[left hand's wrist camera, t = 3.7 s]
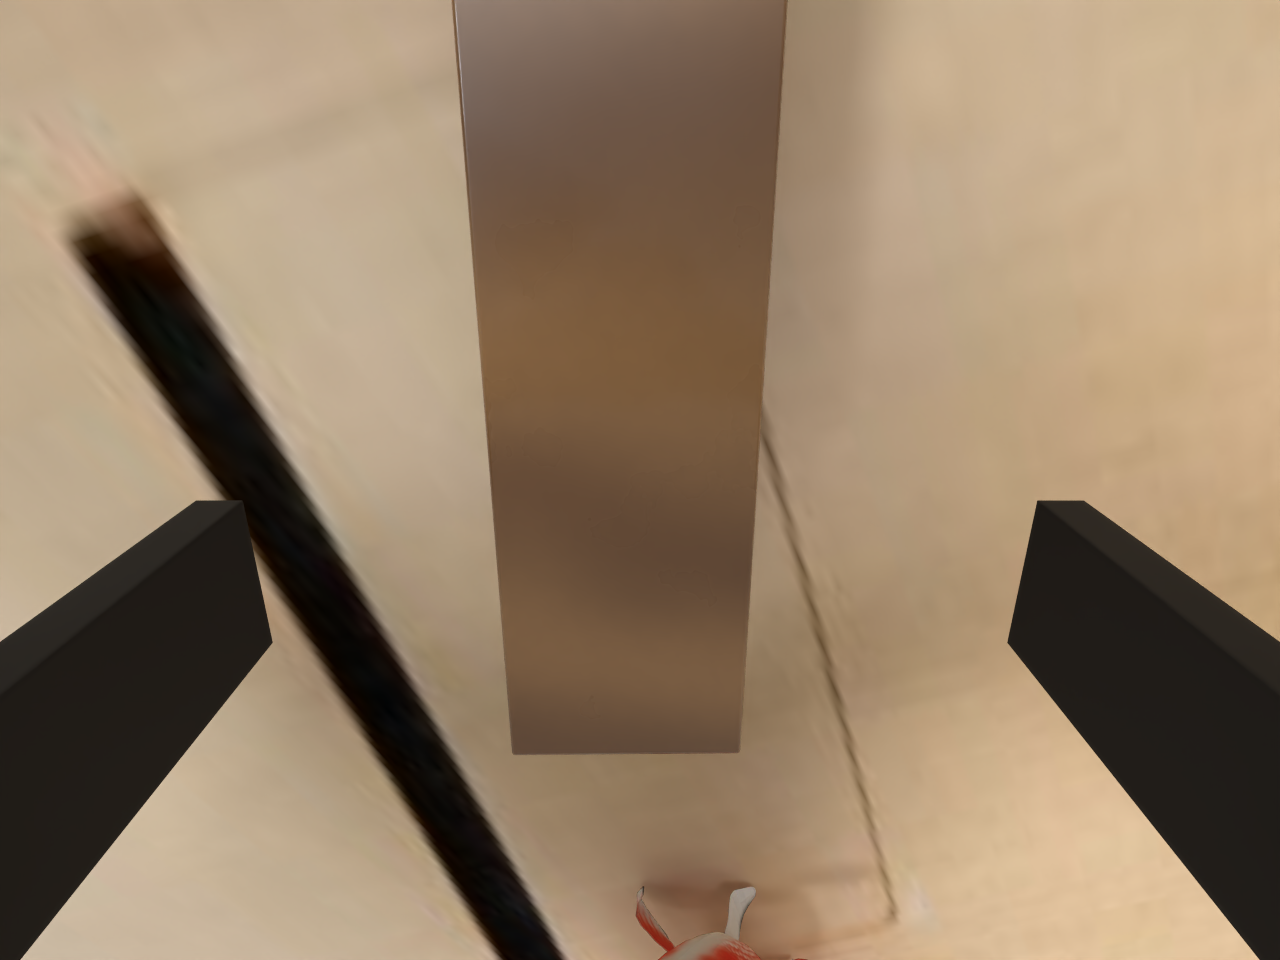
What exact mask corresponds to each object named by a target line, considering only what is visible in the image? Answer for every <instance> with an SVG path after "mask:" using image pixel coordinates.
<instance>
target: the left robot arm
mask: <svg viewBox="0 0 1280 960" xmlns="http://www.w3.org/2000/svg"><path fill="white" fill-rule="evenodd" d="M272 643H273V642H272V637H271V633H270V628H269V623H268V618H267V614H266V609H265V604H264V600H263V595H262V590H261V585H260V581H259V576H258V571H257V566H256V562H255V557H254V552H253V548H252V543H251V538H250V533H249V529H248V524H247V519H246V515H245V510H244V505H243V501H195V502H194V503H192V504H191V505H189V506H188V507H187V508H185V509H184V510H183V511H181V512H180V513H178V514H177V515H176V516H174V517H173V518H171V519H170V520H169V521H167V522H166V523H164V524H163V525H162V526H160V527H159V528H158V529H156V530H155V531H153V532H152V533H151V534H149V535H148V536H146V537H145V538H144V539H142V540H141V541H140V542H138V543H137V544H135V545H134V546H133V547H131V548H130V549H128V550H127V551H126V552H124V553H123V554H122V555H120V556H119V557H117V558H116V559H115V560H113V561H112V562H110V563H109V564H108V565H106V566H105V567H103V568H102V569H101V570H99V571H98V572H97V573H95V574H94V575H92V576H91V577H90V578H88V579H87V580H85V581H84V582H83V583H81V584H80V585H79V586H77V587H76V588H74V589H73V590H72V591H70V592H69V593H67V594H66V595H65V596H63V597H62V598H60V599H59V600H58V601H56V602H55V603H54V604H52V605H51V606H49V607H48V608H47V609H45V610H44V611H42V612H41V613H40V614H38V615H37V616H36V617H34V618H33V619H31V620H30V621H29V622H27V623H26V624H24V625H23V626H22V627H20V628H19V629H18V630H16V631H15V632H13V633H12V634H11V635H9V636H8V637H6V638H5V639H4V640H2V641H1V642H0V960H21V958H22V957H23V956H24V954H25V953H26V952H27V951H28V949H29V948H30V947H31V946H32V944H33V943H34V942H35V941H36V939H37V938H38V937H39V936H40V934H41V933H42V932H43V931H44V929H45V928H46V927H47V926H48V924H49V923H50V922H51V921H52V919H53V918H54V917H55V916H56V914H57V913H58V912H59V910H60V909H61V908H62V907H63V905H64V904H65V903H66V902H67V900H68V899H69V898H70V897H71V895H72V894H73V893H74V892H75V890H76V889H77V888H78V887H79V885H80V884H81V883H82V882H83V880H84V879H85V878H86V877H87V875H88V874H89V873H90V872H91V870H92V869H93V868H94V866H95V865H96V864H97V863H98V861H99V860H100V859H101V858H102V856H103V855H104V854H105V853H106V851H107V850H108V849H109V848H110V846H111V845H112V844H113V843H114V841H115V840H116V839H117V838H118V836H119V835H120V834H121V833H122V831H123V830H124V829H125V827H126V826H127V825H128V824H129V822H130V821H131V820H132V819H133V817H134V816H135V815H136V814H137V812H138V811H139V810H140V809H141V807H142V806H143V805H144V804H145V802H146V801H147V800H148V799H149V797H150V796H151V795H152V794H153V792H154V791H155V790H156V789H157V787H158V786H159V785H160V783H161V782H162V781H163V780H164V778H165V777H166V776H167V775H168V773H169V772H170V771H171V770H172V768H173V767H174V766H175V765H176V763H177V762H178V761H179V760H180V758H181V757H182V756H183V755H184V753H185V752H186V751H187V750H188V748H189V747H190V746H191V745H192V743H193V742H194V741H195V739H196V738H197V737H198V736H199V734H200V733H201V732H202V731H203V729H204V728H205V727H206V726H207V724H208V723H209V722H210V721H211V719H212V718H213V717H214V716H215V714H216V713H217V712H218V711H219V709H220V708H221V707H222V706H223V704H224V703H225V702H226V701H227V699H228V698H229V697H230V695H231V694H232V693H233V692H234V690H235V689H236V688H237V687H238V685H239V684H240V683H241V682H242V680H243V679H244V678H245V677H246V675H247V674H248V673H249V672H250V670H251V669H252V668H253V667H254V665H255V664H256V663H257V662H258V660H259V659H260V658H261V657H262V655H263V654H264V653H265V651H266V650H267V649H268V648H269V646H270V645H271V644H272ZM1007 643H1008V644H1009V645H1010V646H1011V648H1012V649H1013V650H1014V651H1015V653H1016V654H1017V655H1018V657H1019V658H1020V659H1021V660H1022V662H1023V663H1024V664H1025V665H1026V667H1027V668H1028V669H1029V670H1030V672H1031V673H1032V674H1033V675H1034V677H1035V678H1036V679H1037V680H1038V682H1039V683H1040V684H1041V685H1042V687H1043V688H1044V689H1045V690H1046V692H1047V693H1048V694H1049V695H1050V697H1051V698H1052V699H1053V701H1054V702H1055V703H1056V704H1057V706H1058V707H1059V708H1060V709H1061V711H1062V712H1063V713H1064V714H1065V716H1066V717H1067V718H1068V719H1069V721H1070V722H1071V723H1072V724H1073V726H1074V727H1075V728H1076V729H1077V731H1078V732H1079V733H1080V734H1081V736H1082V737H1083V738H1084V739H1085V741H1086V742H1087V743H1088V745H1089V746H1090V747H1091V748H1092V750H1093V751H1094V752H1095V753H1096V755H1097V756H1098V757H1099V758H1100V760H1101V761H1102V762H1103V763H1104V765H1105V766H1106V767H1107V768H1108V770H1109V771H1110V772H1111V773H1112V775H1113V776H1114V777H1115V778H1116V780H1117V781H1118V782H1119V783H1120V785H1121V786H1122V787H1123V789H1124V790H1125V791H1126V792H1127V794H1128V795H1129V796H1130V797H1131V799H1132V800H1133V801H1134V802H1135V804H1136V805H1137V806H1138V807H1139V809H1140V810H1141V811H1142V812H1143V814H1144V815H1145V816H1146V817H1147V819H1148V820H1149V821H1150V822H1151V824H1152V825H1153V826H1154V827H1155V829H1156V830H1157V831H1158V833H1159V834H1160V835H1161V836H1162V838H1163V839H1164V840H1165V841H1166V843H1167V844H1168V845H1169V846H1170V848H1171V849H1172V850H1173V851H1174V853H1175V854H1176V855H1177V856H1178V858H1179V859H1180V860H1181V861H1182V863H1183V864H1184V865H1185V866H1186V868H1187V869H1188V870H1189V872H1190V873H1191V874H1192V875H1193V877H1194V878H1195V879H1196V880H1197V882H1198V883H1199V884H1200V885H1201V887H1202V888H1203V889H1204V890H1205V892H1206V893H1207V894H1208V895H1209V897H1210V898H1211V899H1212V900H1213V902H1214V903H1215V904H1216V905H1217V907H1218V908H1219V909H1220V910H1221V912H1222V913H1223V914H1224V916H1225V917H1226V918H1227V919H1228V921H1229V922H1230V923H1231V924H1232V926H1233V927H1234V928H1235V929H1236V931H1237V932H1238V933H1239V934H1240V936H1241V937H1242V938H1243V939H1244V941H1245V942H1246V943H1247V944H1248V946H1249V947H1250V948H1251V949H1252V951H1253V952H1254V953H1255V954H1256V956H1257V957H1258V958H1259V960H1280V642H1279V641H1278V640H1276V639H1275V638H1274V637H1272V636H1271V635H1269V634H1268V633H1267V632H1265V631H1264V630H1262V629H1261V628H1260V627H1258V626H1257V625H1256V624H1254V623H1253V622H1251V621H1250V620H1249V619H1247V618H1246V617H1244V616H1243V615H1242V614H1240V613H1239V612H1238V611H1236V610H1235V609H1233V608H1232V607H1231V606H1229V605H1228V604H1226V603H1225V602H1224V601H1222V600H1221V599H1220V598H1218V597H1217V596H1215V595H1214V594H1213V593H1211V592H1210V591H1208V590H1207V589H1206V588H1204V587H1203V586H1201V585H1200V584H1199V583H1197V582H1196V581H1195V580H1193V579H1192V578H1190V577H1189V576H1188V575H1186V574H1185V573H1183V572H1182V571H1181V570H1179V569H1178V568H1177V567H1175V566H1174V565H1172V564H1171V563H1170V562H1168V561H1167V560H1165V559H1164V558H1163V557H1161V556H1160V555H1158V554H1157V553H1156V552H1154V551H1153V550H1152V549H1150V548H1149V547H1147V546H1146V545H1145V544H1143V543H1142V542H1140V541H1139V540H1138V539H1136V538H1135V537H1134V536H1132V535H1131V534H1129V533H1128V532H1127V531H1125V530H1124V529H1122V528H1121V527H1120V526H1118V525H1117V524H1116V523H1114V522H1113V521H1111V520H1110V519H1109V518H1107V517H1106V516H1104V515H1103V514H1102V513H1100V512H1099V511H1097V510H1096V509H1095V508H1093V507H1092V506H1091V505H1089V504H1088V503H1086V502H1085V501H1037V505H1036V510H1035V515H1034V519H1033V524H1032V529H1031V533H1030V538H1029V543H1028V548H1027V552H1026V557H1025V562H1024V566H1023V571H1022V576H1021V581H1020V585H1019V590H1018V595H1017V600H1016V604H1015V609H1014V614H1013V618H1012V623H1011V628H1010V633H1009V637H1008V642H1007Z"/></svg>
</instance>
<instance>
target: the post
mask: <svg viewBox="0 0 1280 960" xmlns="http://www.w3.org/2000/svg"><path fill="white" fill-rule="evenodd" d="M787 3H788V0H452V11H453V23H454V36H455V48H456V61H457V73H458V85H459V98H460V110H461V123H462V135H463V148H464V160H465V172H466V185H467V197H468V210H469V222H470V235H471V247H472V259H473V272H474V284H475V297H476V309H477V321H478V334H479V346H480V359H481V371H482V384H483V396H484V408H485V421H486V433H487V446H488V458H489V471H490V483H491V495H492V508H493V520H494V533H495V545H496V558H497V570H498V582H499V595H500V607H501V620H502V632H503V644H504V657H505V669H506V682H507V694H508V707H509V719H510V731H511V744H512V753H513V754H514V755H569V754H679V753H739V751H740V745H741V729H742V714H743V698H744V682H745V666H746V650H747V635H748V619H749V603H750V587H751V572H752V556H753V540H754V524H755V508H756V493H757V477H758V461H759V445H760V429H761V414H762V398H763V382H764V366H765V350H766V335H767V319H768V303H769V287H770V271H771V256H772V240H773V224H774V208H775V192H776V177H777V161H778V145H779V129H780V113H781V98H782V82H783V66H784V50H785V35H786V19H787Z"/></svg>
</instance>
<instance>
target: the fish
mask: <svg viewBox="0 0 1280 960" xmlns="http://www.w3.org/2000/svg"><path fill="white" fill-rule="evenodd" d="M643 893H644V887H642V888H641V889H640V890H639V891H638V893H637V911H636V917H637V919H638V921H639V923H640V925H641V926H642V927H643V928H644V929H645V930H646V931H647V932H648V933H649V935H650V936H651V937H652V938H653V939H654V940H655V941H656V942H657V943H658V944H659V945H660V946H662V947H663V948H664V949H665V950H666V951H667V953H665V954H664V955H663V956H662V957H661V958H660V959H658V960H761V959H760V958H759V957H758V956H757V954H756V953H755V952H754V951H753V950H752V949H751V948H750V947H749V946H747V945H746V944H744V943H742V942H740V941H739V937H740V927H741V922H742V918H743V915H744V913H745V911H746V909H747V908H748V906H749V904H750V903H751V901H752V900H753V899H754V897H755V895H756V890H755V888H754V887H746V888H742V889H737V890H734V891H733V892H732V894H731V895H730V901H729V915H728V922H727V926H726V929H725V933H722V932H713V933H708V934H703V935H700V936H697V937H695V938H693V939H689V940H686V941H685V942H683V943H681V944H680V945H678V946H677V947H675V946H674V945H673V944H672V943H671V941H670V940H669V939H668V937H667V935H666V933H665V932H664V930H663V929H662V928H661V927H660V926H659V924H658V923H657V922H656V920H655V919H654V918H653V916H652V915H651V914H650V912H649V911H648V910H647V908H646V906H645V905H644V903H643V901H642V899H641V898H642V896H643ZM792 960H793V959H792ZM795 960H806V959H795Z"/></svg>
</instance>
